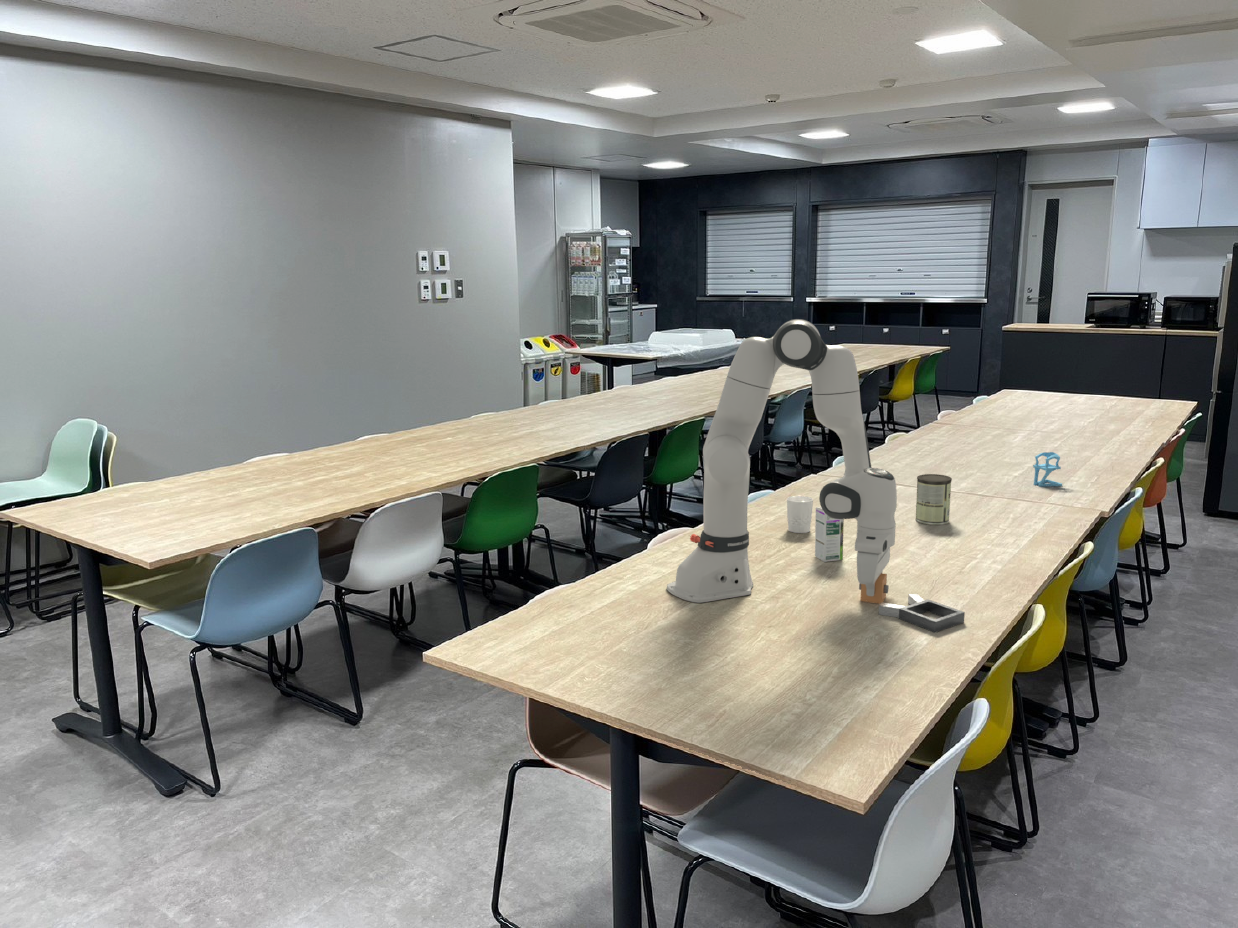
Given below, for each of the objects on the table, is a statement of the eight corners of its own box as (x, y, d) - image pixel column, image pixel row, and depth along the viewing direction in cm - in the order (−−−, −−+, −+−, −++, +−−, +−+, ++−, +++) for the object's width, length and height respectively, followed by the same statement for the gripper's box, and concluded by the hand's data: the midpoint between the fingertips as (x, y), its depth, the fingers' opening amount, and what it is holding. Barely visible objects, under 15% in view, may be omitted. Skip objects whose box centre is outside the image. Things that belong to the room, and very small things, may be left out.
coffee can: (911, 516, 291) (913, 473, 288) (944, 516, 290) (947, 473, 287) (919, 525, 281) (921, 481, 278) (953, 525, 280) (955, 481, 277)
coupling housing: (929, 634, 197) (930, 623, 197) (874, 613, 210) (875, 602, 210) (968, 620, 205) (969, 610, 204) (913, 601, 217) (913, 591, 217)
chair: (1028, 483, 332) (1030, 451, 329) (1046, 481, 334) (1049, 449, 332) (1043, 488, 325) (1046, 455, 322) (1062, 486, 327) (1065, 453, 325)
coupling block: (885, 604, 215) (886, 580, 214) (857, 600, 218) (858, 576, 217) (889, 597, 220) (890, 574, 219) (861, 593, 223) (862, 570, 222)
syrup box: (824, 562, 247) (825, 511, 244) (814, 556, 253) (815, 506, 250) (843, 560, 249) (844, 509, 246) (832, 554, 254) (834, 504, 251)
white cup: (808, 526, 282) (809, 495, 280) (815, 533, 274) (815, 501, 272) (783, 527, 282) (784, 496, 280) (789, 534, 274) (789, 502, 272)
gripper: (871, 523, 226) (869, 576, 229) (852, 545, 209) (850, 602, 211) (897, 526, 223) (895, 579, 226) (880, 549, 206) (878, 606, 209)
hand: (873, 590), depth 219 cm, fingers closed on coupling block, 5 cm apart
